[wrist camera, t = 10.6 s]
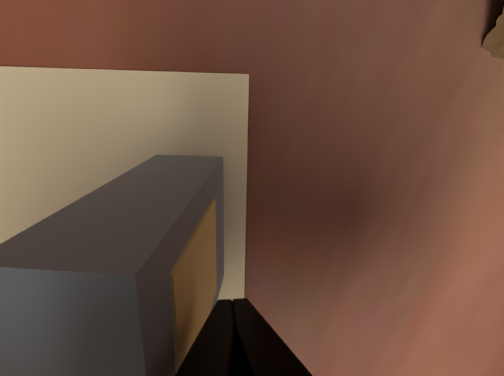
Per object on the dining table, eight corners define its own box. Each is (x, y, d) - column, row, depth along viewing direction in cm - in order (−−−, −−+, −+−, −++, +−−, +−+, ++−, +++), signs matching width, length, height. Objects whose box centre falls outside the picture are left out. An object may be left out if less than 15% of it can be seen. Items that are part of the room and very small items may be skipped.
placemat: (247, 74, 14) (248, 74, 13) (242, 317, 18) (243, 323, 17) (-112, 63, 12) (-125, 62, 12) (-27, 333, 16) (-34, 340, 16)
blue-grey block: (225, 157, 14) (141, 275, 5) (226, 275, 16) (164, 506, 7) (156, 154, 14) (-36, 264, 5) (165, 271, 16) (33, 492, 7)
